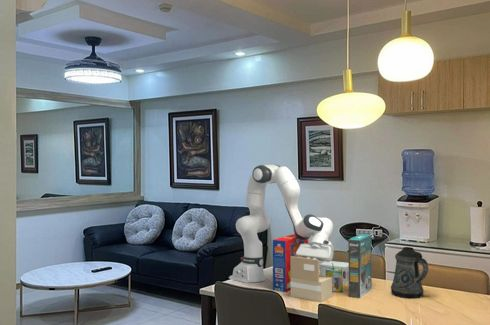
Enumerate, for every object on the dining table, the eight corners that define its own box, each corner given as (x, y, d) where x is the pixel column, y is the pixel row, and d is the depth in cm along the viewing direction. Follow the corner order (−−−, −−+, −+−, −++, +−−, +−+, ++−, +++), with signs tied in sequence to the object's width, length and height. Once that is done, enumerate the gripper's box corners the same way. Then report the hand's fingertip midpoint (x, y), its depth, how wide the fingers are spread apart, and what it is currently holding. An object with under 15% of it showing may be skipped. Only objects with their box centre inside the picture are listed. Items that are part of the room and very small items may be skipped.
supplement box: (319, 279, 290) (319, 264, 290) (326, 275, 301) (326, 260, 301) (346, 282, 282) (346, 266, 282) (353, 277, 293) (352, 262, 293)
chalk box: (342, 292, 259) (342, 265, 259) (325, 291, 261) (325, 264, 261) (342, 288, 268) (342, 261, 269) (326, 287, 270) (326, 261, 270)
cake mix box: (360, 287, 270) (360, 234, 270) (371, 288, 267) (371, 234, 267) (348, 296, 251) (348, 239, 251) (360, 298, 248) (359, 240, 248)
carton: (290, 296, 252) (290, 276, 252) (302, 291, 262) (301, 272, 262) (321, 302, 242) (320, 281, 242) (332, 296, 251) (331, 277, 251)
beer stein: (393, 289, 266) (393, 244, 266) (430, 293, 257) (430, 246, 257) (388, 296, 251) (388, 248, 251) (427, 301, 242) (427, 251, 242)
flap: (290, 277, 251) (290, 256, 251) (291, 277, 252) (291, 256, 252) (317, 282, 241) (317, 260, 241) (319, 281, 242) (318, 259, 242)
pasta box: (285, 292, 260) (285, 241, 261) (273, 290, 265) (272, 239, 265) (308, 281, 284) (308, 234, 284) (296, 279, 288) (296, 233, 288)
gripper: (299, 239, 263) (290, 259, 255) (333, 242, 251) (325, 264, 243) (303, 246, 267) (294, 266, 259) (337, 249, 254) (329, 271, 247)
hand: (309, 265), depth 251 cm, fingers closed
